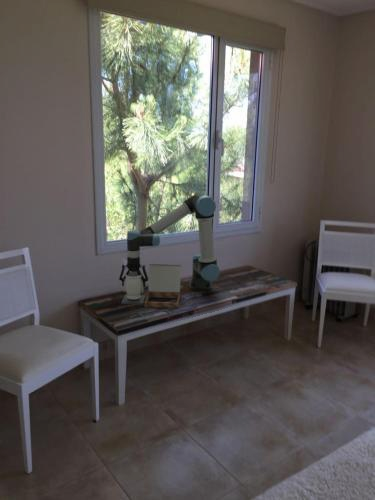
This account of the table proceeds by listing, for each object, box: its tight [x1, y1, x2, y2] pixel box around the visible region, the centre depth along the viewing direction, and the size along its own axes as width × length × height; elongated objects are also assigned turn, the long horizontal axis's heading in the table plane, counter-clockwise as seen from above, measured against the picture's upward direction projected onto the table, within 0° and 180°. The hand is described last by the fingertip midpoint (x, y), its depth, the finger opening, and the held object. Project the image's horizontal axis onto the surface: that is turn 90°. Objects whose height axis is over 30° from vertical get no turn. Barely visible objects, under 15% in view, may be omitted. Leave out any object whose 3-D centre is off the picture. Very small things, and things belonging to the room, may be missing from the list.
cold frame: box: [144, 291, 181, 309], centre depth 255 cm, size 20×17×3 cm
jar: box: [124, 271, 143, 299], centre depth 254 cm, size 11×10×15 cm
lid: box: [148, 263, 182, 293], centre depth 263 cm, size 20×17×1 cm
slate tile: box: [120, 294, 147, 306], centre depth 257 cm, size 13×13×1 cm
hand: (133, 291), depth 255 cm, fingers closed on jar, 10 cm apart
